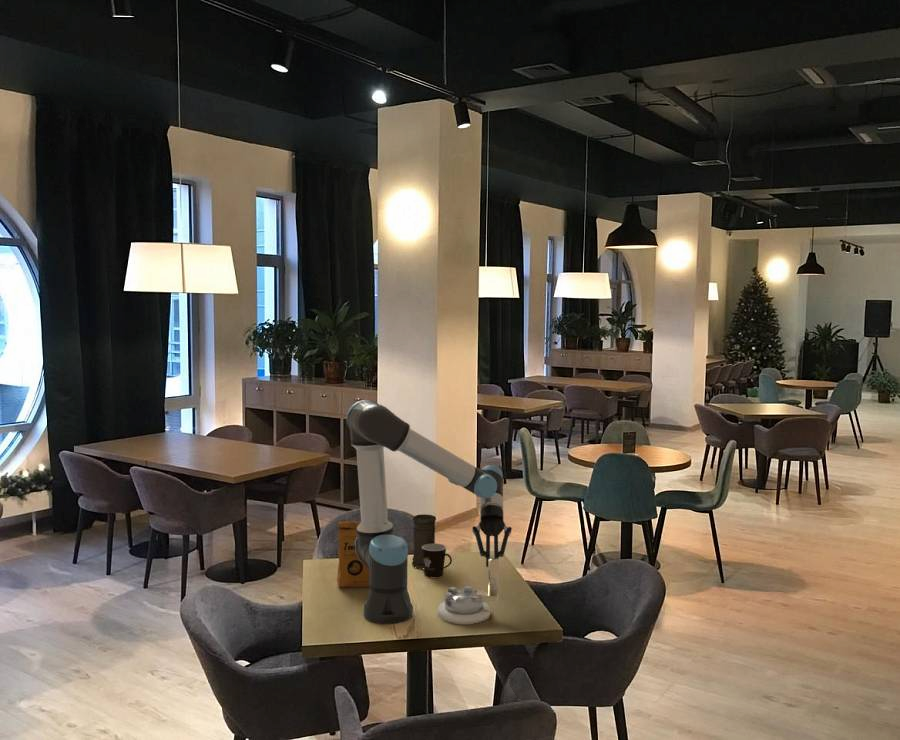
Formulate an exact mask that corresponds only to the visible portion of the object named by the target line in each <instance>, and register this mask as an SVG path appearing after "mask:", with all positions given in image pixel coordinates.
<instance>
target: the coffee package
mask: <svg viewBox="0 0 900 740" xmlns="http://www.w3.org/2000/svg"><path fill="white" fill-rule="evenodd" d="M337 523H338V524H337V528H338V541H339V543H338V545H339V546H338V551H337V553H338V566H337V575H336V576H337V578H336V583H337V586H338V587H339V588H340V587H343V588H369V585H370V584H369V569H368V568H367V567H366V565H365V564H364V563H363V562H361V560H360V559H359V558H358V556H357V554H356V550H355V540H356V537H357V527H358V525H359V524H360V523H361V521H338V522H337Z"/></svg>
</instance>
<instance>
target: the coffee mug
mask: <svg viewBox="0 0 900 740" xmlns="http://www.w3.org/2000/svg"><path fill="white" fill-rule="evenodd" d="M446 552H447V545H444V544H441V543H435V544H426V545H423V546H422V554H423V564H424V569H423V571H424V576H425V575H426V576H428V577H427V578H429V577H439V578H441V577H440V576H442V575H443V574H444V569H446V568H448V567H449V566H451V564H452V562H453V559H452V557H451V555H450V554H448V553H446ZM446 557H448V558H449V563H448V564H447V565H445V561H446V560H445V559H446ZM426 576H425V577H426ZM442 577H443V576H442Z"/></svg>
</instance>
